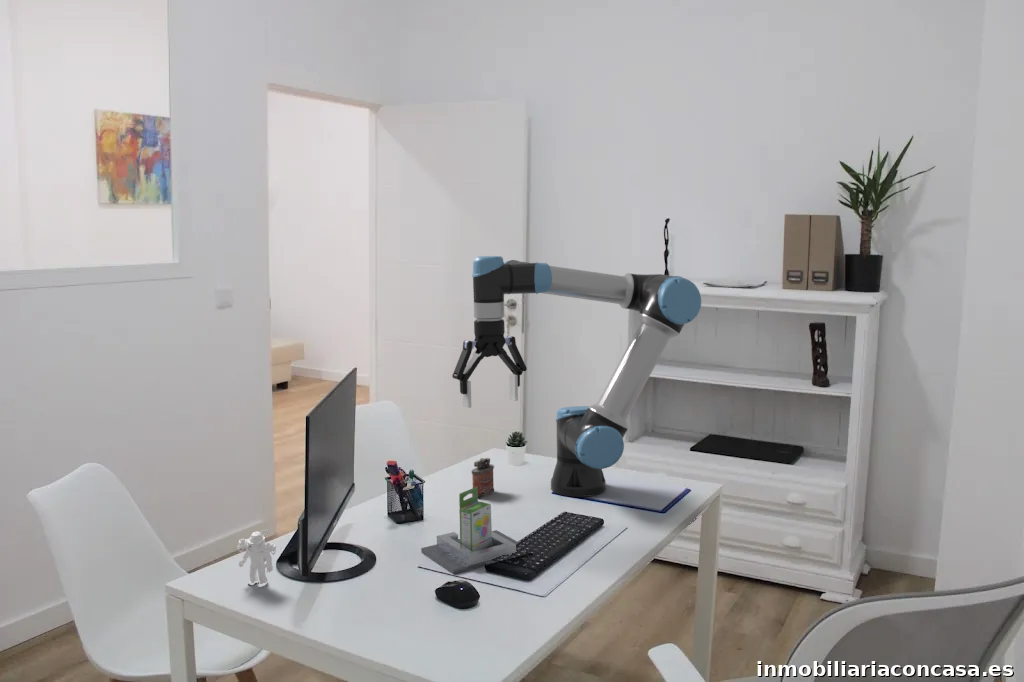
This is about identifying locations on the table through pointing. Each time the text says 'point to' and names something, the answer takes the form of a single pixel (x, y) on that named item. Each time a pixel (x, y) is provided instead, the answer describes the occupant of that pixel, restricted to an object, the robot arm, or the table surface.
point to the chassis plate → (452, 559)
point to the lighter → (483, 477)
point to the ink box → (474, 522)
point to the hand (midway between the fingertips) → (490, 403)
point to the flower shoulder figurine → (257, 555)
